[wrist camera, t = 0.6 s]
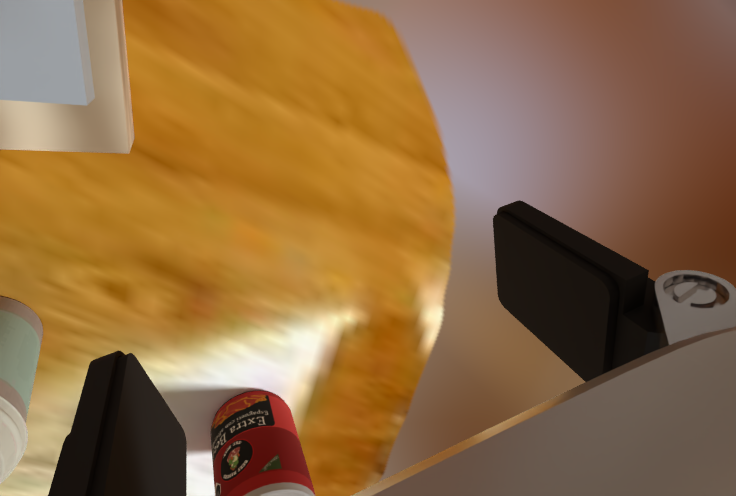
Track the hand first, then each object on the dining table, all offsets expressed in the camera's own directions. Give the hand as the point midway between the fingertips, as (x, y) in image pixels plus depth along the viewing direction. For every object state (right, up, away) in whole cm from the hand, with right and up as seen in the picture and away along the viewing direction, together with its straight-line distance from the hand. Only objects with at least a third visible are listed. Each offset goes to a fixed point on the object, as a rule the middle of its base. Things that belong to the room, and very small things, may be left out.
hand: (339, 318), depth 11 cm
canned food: (-11, -15, +33) cm, 37 cm away
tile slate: (-17, +13, +11) cm, 23 cm away
